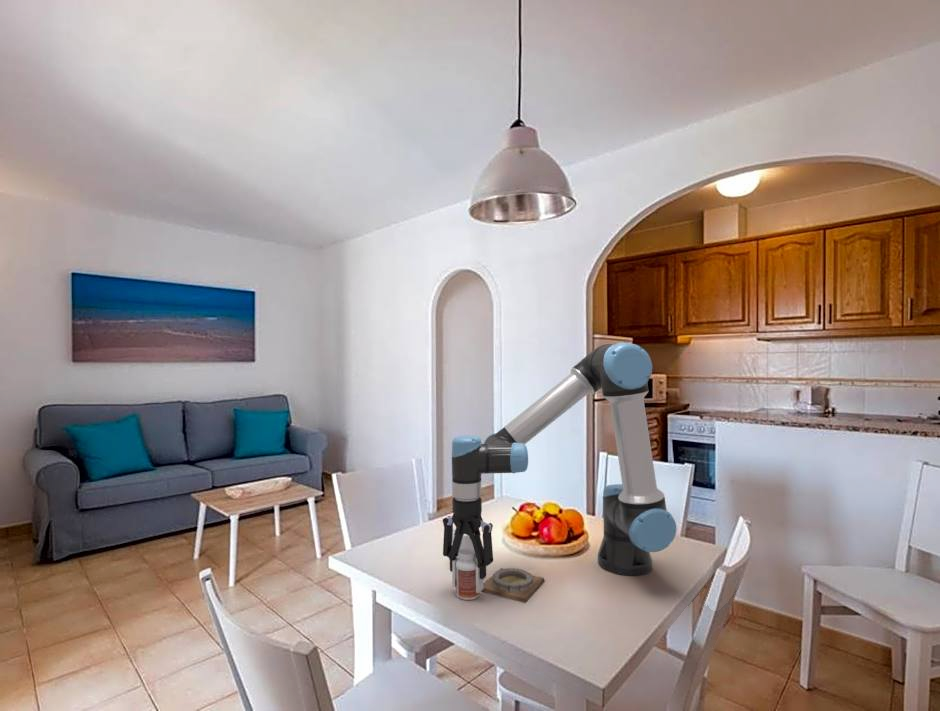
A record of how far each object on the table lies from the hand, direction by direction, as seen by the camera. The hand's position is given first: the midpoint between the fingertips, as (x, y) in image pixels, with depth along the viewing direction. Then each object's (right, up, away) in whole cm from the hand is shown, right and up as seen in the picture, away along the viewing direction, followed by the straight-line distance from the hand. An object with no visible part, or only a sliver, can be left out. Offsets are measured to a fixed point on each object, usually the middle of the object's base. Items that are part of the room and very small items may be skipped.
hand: (468, 587), depth 125 cm
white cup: (-1, -2, +19) cm, 19 cm away
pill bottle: (0, -2, 0) cm, 2 cm away
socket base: (+12, -2, +5) cm, 13 cm away
